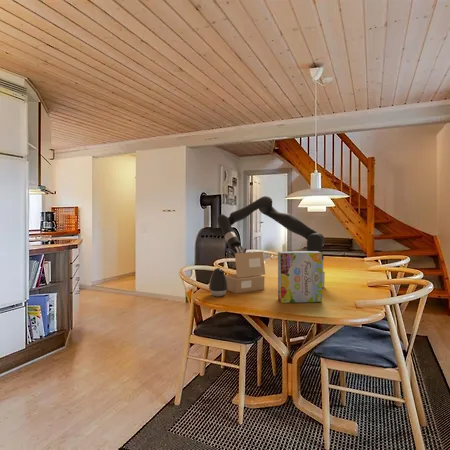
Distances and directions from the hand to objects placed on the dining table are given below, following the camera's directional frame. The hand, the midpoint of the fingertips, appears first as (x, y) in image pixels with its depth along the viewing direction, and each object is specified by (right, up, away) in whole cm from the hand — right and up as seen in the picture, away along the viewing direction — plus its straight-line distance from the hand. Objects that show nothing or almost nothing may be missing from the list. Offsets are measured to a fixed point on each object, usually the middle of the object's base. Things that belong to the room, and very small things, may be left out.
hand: (242, 262), depth 200 cm
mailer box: (+1, -16, -1) cm, 16 cm away
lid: (+4, -1, -7) cm, 8 cm away
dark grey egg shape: (-15, -17, -16) cm, 28 cm away
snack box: (+28, -17, -27) cm, 43 cm away
